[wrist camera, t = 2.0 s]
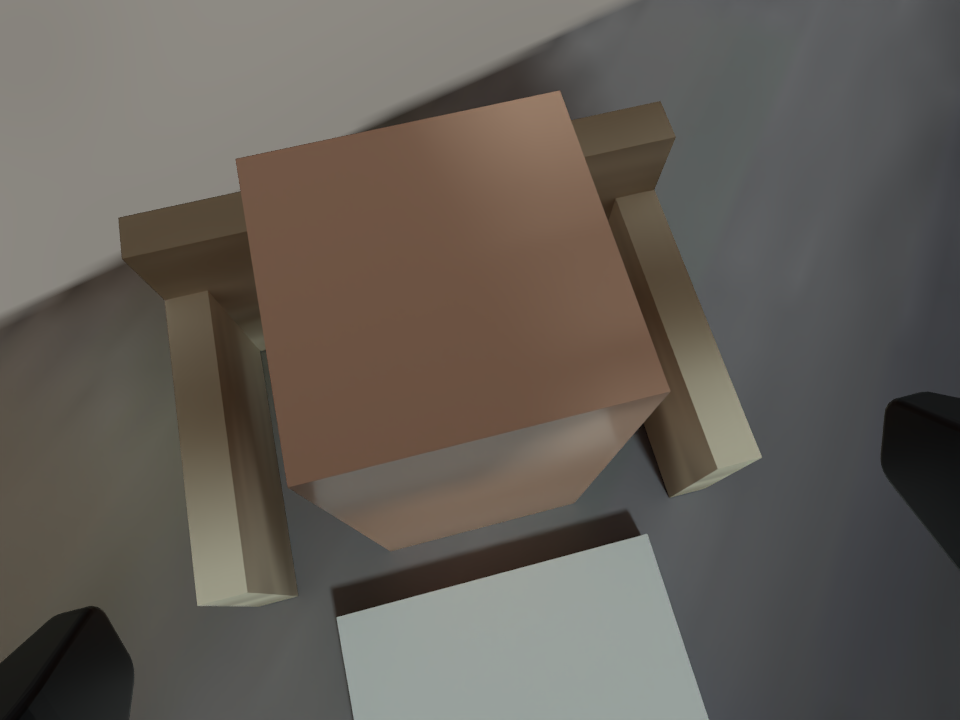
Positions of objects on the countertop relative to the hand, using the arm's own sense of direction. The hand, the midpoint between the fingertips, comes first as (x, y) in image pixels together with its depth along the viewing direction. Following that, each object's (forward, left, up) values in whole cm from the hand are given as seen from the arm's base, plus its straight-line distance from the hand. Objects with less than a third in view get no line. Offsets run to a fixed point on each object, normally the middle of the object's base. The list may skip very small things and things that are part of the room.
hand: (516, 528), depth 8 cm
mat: (-4, +1, -11) cm, 11 cm away
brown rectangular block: (+4, -1, -11) cm, 11 cm away
